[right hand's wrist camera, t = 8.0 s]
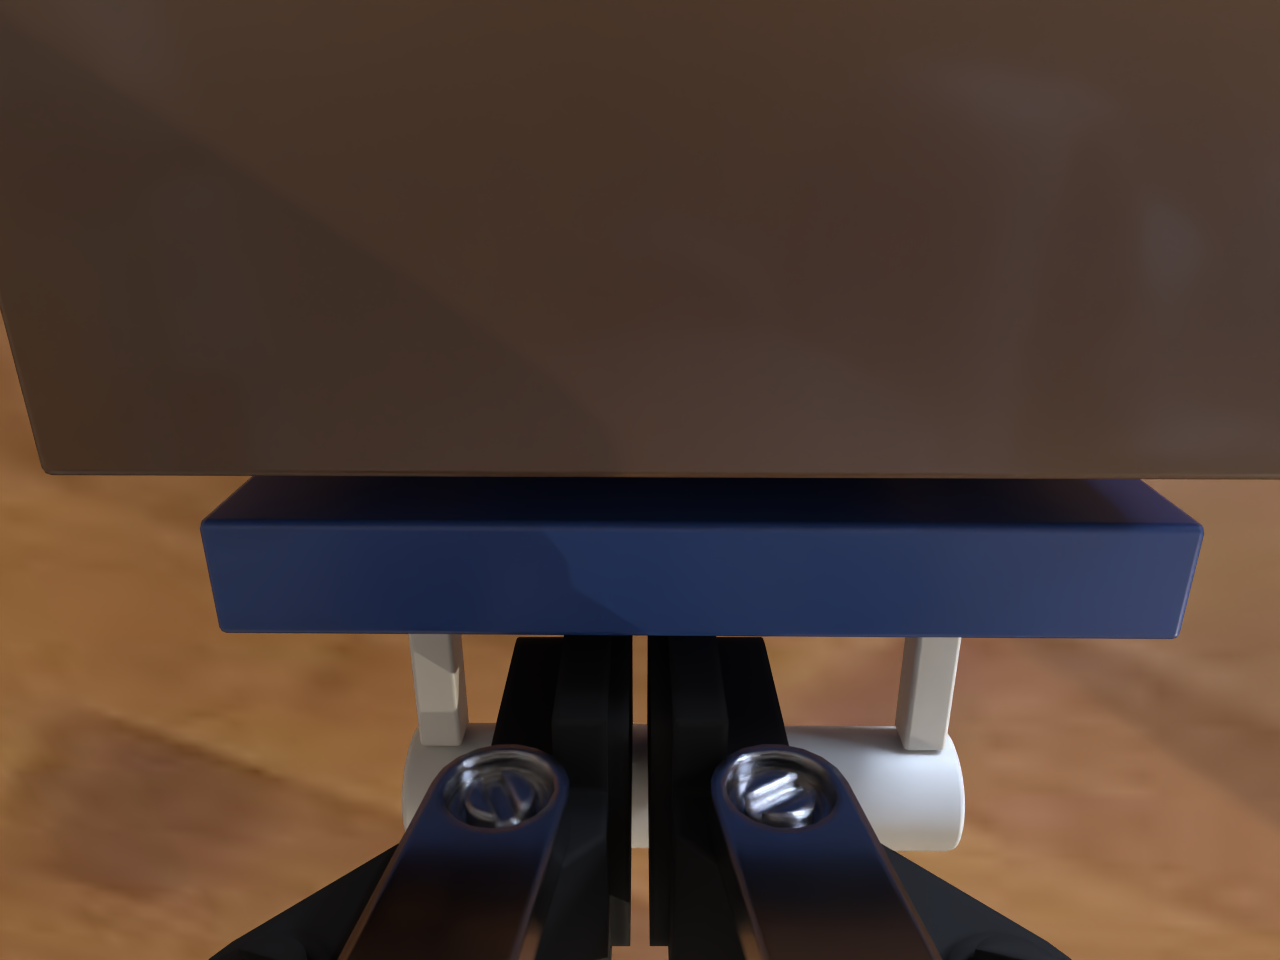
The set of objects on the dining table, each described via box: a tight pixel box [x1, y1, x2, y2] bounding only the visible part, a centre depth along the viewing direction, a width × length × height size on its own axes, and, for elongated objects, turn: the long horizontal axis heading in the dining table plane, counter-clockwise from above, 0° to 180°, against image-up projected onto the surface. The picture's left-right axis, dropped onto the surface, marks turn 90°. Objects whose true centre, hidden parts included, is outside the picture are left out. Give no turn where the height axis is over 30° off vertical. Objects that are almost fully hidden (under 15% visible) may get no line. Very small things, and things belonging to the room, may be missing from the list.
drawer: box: [200, 476, 1204, 851], centre depth 10 cm, size 21×9×8 cm, turn 0°
